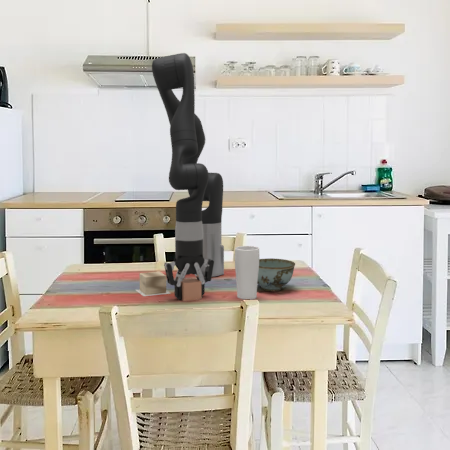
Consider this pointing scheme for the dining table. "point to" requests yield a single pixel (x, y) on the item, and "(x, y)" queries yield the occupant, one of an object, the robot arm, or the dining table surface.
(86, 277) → the dining table surface
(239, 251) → the drinking glass
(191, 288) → the rust block
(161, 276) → the beech block
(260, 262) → the bowl
